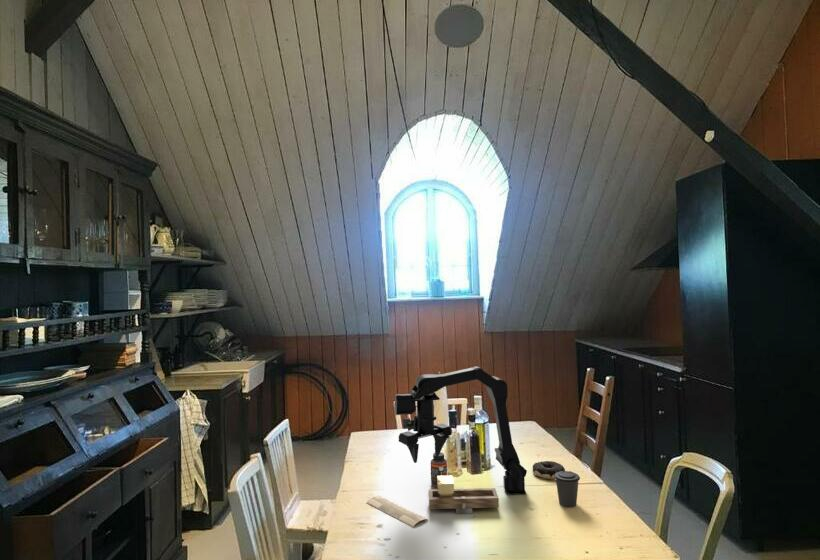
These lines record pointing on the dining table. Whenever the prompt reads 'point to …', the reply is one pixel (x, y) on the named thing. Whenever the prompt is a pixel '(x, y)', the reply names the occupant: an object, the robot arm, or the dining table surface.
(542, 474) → the donut
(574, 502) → the coffee cup
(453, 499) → the brown wooden rectangular tray
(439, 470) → the supplement bottle
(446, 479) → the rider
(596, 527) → the dining table surface
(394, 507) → the beige piece
